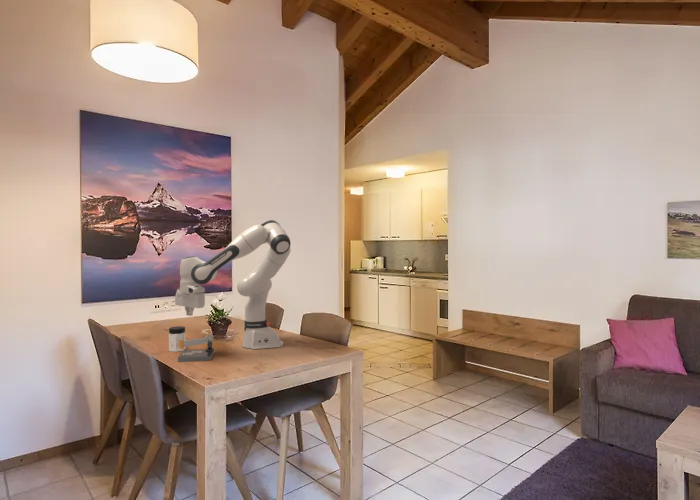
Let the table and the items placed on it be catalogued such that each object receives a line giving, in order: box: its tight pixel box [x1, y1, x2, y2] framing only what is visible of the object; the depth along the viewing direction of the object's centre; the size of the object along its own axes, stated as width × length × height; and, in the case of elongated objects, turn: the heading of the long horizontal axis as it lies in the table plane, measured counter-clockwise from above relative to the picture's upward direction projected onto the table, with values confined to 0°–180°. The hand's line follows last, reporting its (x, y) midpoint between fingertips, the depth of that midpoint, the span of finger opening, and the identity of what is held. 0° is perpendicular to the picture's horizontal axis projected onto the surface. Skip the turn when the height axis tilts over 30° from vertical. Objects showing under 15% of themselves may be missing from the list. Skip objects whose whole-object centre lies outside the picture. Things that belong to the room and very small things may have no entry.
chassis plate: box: [177, 343, 215, 363], centre depth 221 cm, size 15×15×6 cm
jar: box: [168, 325, 187, 353], centre depth 237 cm, size 9×8×12 cm
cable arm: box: [178, 334, 214, 349], centre depth 222 cm, size 17×3×4 cm, turn 135°
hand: (189, 315), depth 224 cm, fingers closed
